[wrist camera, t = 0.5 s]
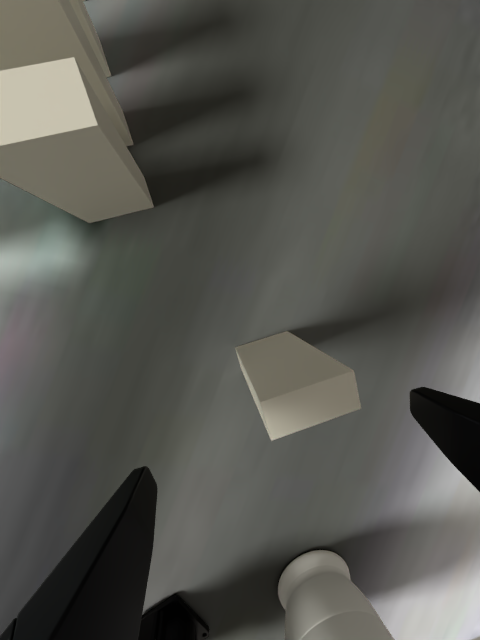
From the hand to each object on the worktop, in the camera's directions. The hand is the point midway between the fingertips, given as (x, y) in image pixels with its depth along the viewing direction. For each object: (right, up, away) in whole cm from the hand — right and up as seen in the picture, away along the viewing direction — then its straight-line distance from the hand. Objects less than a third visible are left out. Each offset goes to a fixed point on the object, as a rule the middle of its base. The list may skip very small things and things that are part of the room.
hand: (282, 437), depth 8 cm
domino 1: (+1, +1, +14) cm, 14 cm away
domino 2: (-11, +13, +10) cm, 20 cm away
